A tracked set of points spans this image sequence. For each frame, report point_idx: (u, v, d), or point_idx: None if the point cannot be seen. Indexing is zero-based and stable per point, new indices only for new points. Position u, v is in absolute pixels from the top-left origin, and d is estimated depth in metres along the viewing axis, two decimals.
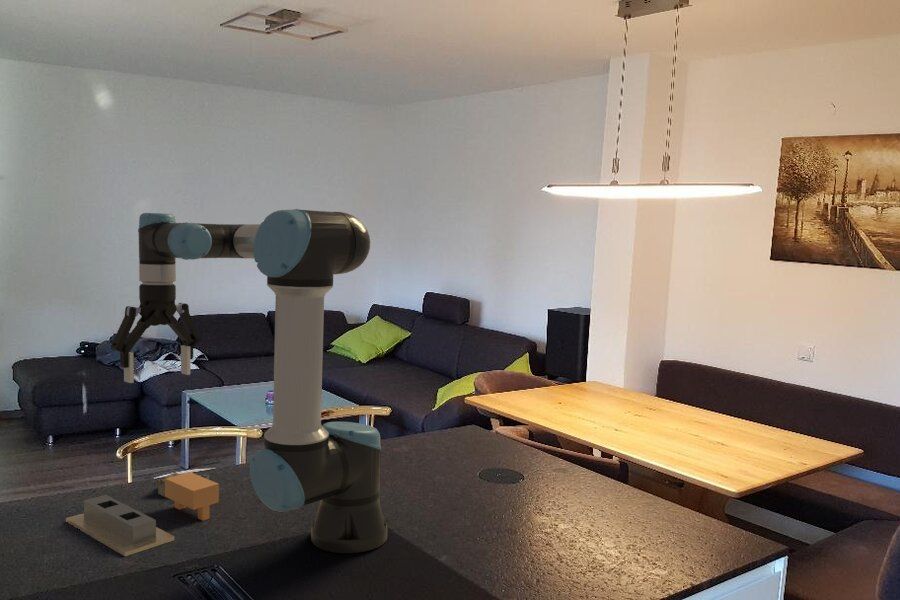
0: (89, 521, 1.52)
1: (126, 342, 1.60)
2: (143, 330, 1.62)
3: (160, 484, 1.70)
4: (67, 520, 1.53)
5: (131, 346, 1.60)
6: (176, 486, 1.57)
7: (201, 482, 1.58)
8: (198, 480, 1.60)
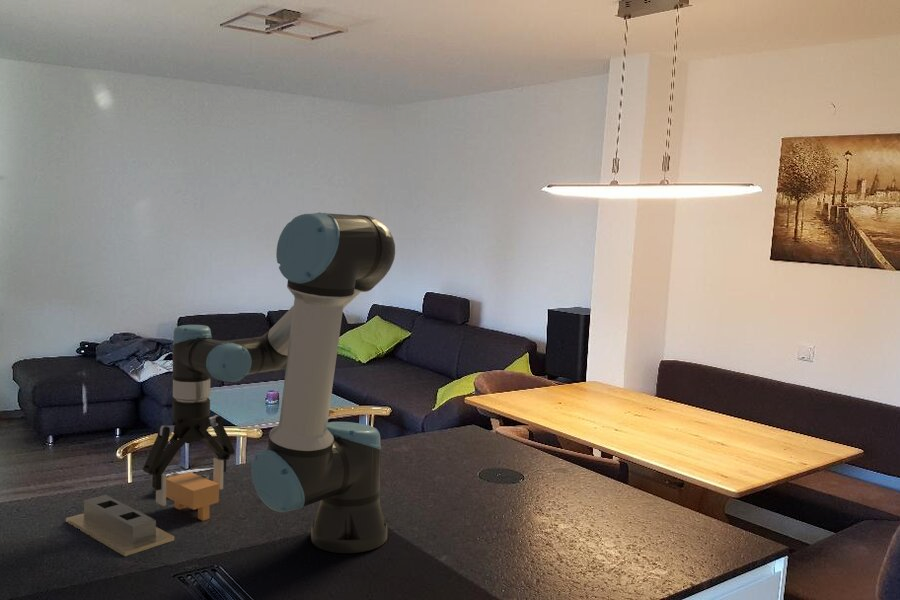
0: (89, 521, 1.52)
1: (159, 463, 1.53)
2: (176, 449, 1.55)
3: None
4: (67, 520, 1.53)
5: (164, 468, 1.53)
6: (176, 486, 1.57)
7: (201, 482, 1.58)
8: (198, 480, 1.60)
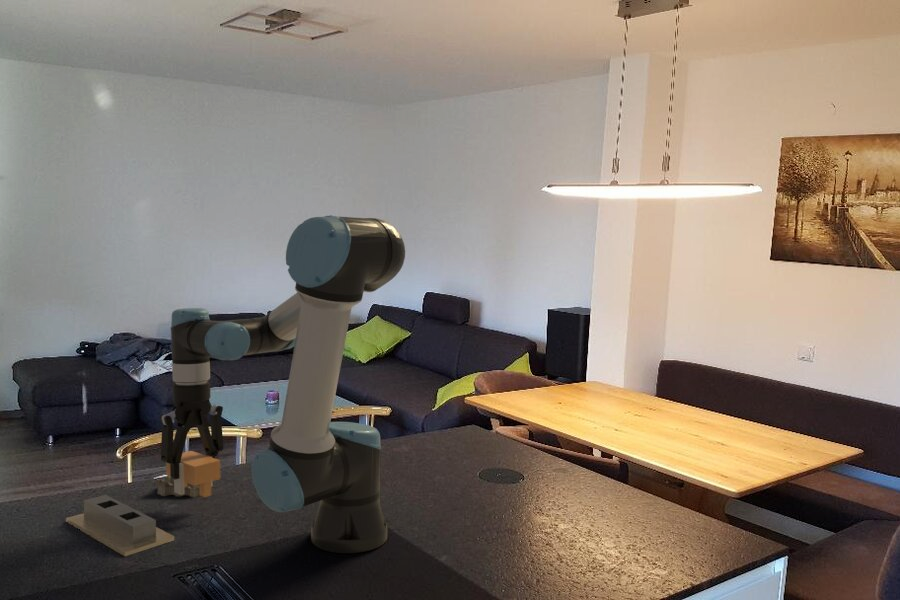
0: (89, 521, 1.52)
1: (173, 453, 1.55)
2: (185, 435, 1.55)
3: (159, 484, 1.70)
4: (67, 520, 1.53)
5: (180, 455, 1.55)
6: None
7: (202, 459, 1.57)
8: (199, 457, 1.59)
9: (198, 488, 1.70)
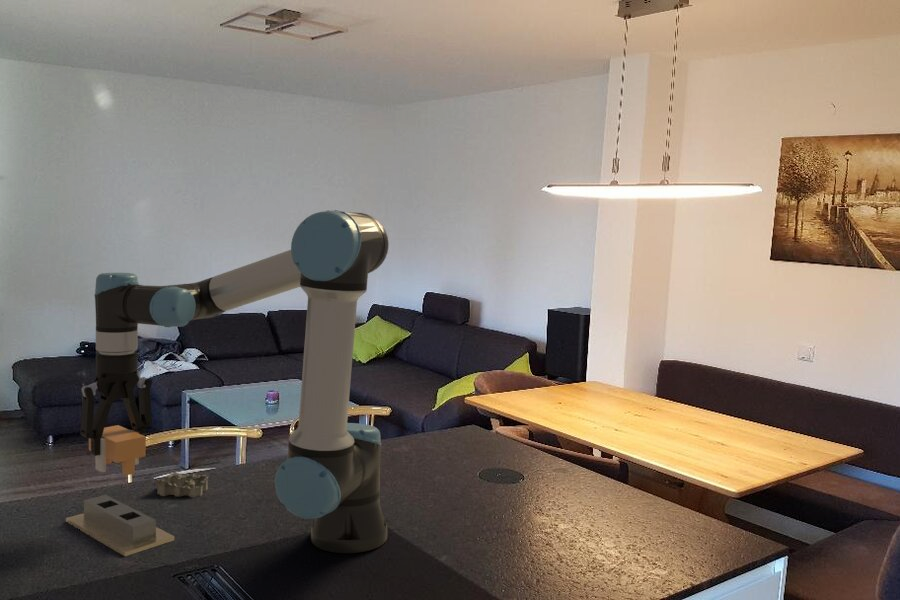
0: (89, 521, 1.52)
1: (94, 427, 1.44)
2: (108, 409, 1.44)
3: (159, 484, 1.70)
4: (67, 520, 1.53)
5: (102, 430, 1.44)
6: None
7: (127, 435, 1.47)
8: (124, 432, 1.48)
9: (197, 488, 1.70)
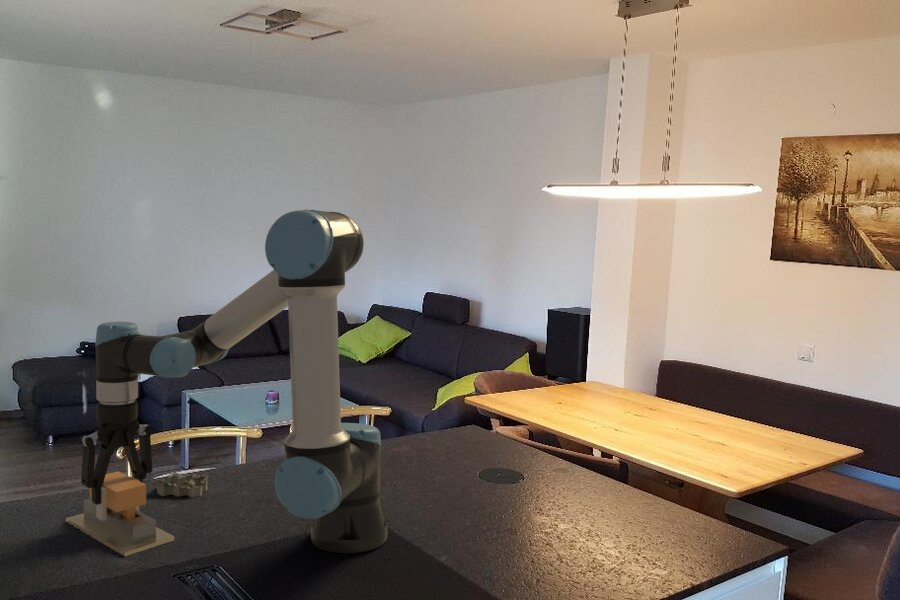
0: (89, 521, 1.52)
1: (95, 476, 1.45)
2: (108, 458, 1.45)
3: (159, 484, 1.70)
4: (67, 520, 1.53)
5: (103, 479, 1.45)
6: None
7: (127, 483, 1.48)
8: (124, 480, 1.49)
9: (197, 488, 1.70)
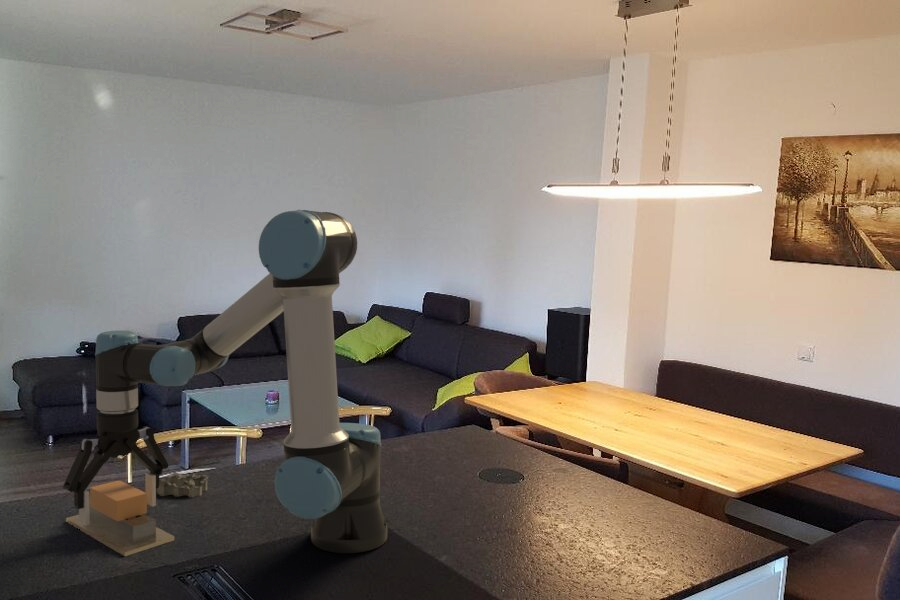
0: None
1: (81, 479, 1.43)
2: (100, 465, 1.44)
3: (159, 484, 1.70)
4: (67, 520, 1.53)
5: (87, 485, 1.42)
6: (101, 496, 1.47)
7: (128, 492, 1.48)
8: (125, 489, 1.49)
9: (197, 488, 1.70)
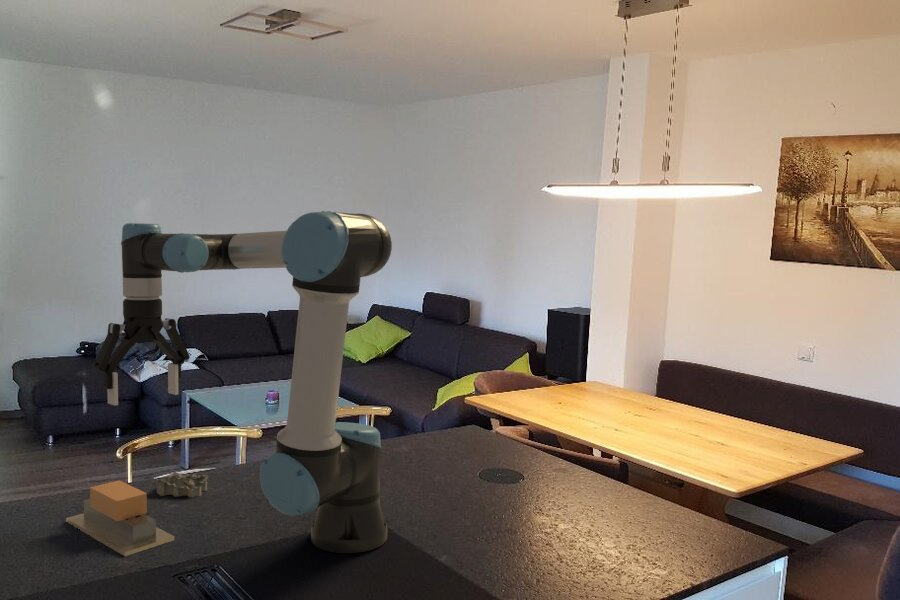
0: (89, 521, 1.52)
1: (110, 361, 1.50)
2: (128, 348, 1.52)
3: (158, 484, 1.70)
4: (67, 520, 1.53)
5: (115, 366, 1.50)
6: (101, 496, 1.47)
7: (128, 492, 1.48)
8: (125, 489, 1.49)
9: (196, 488, 1.70)
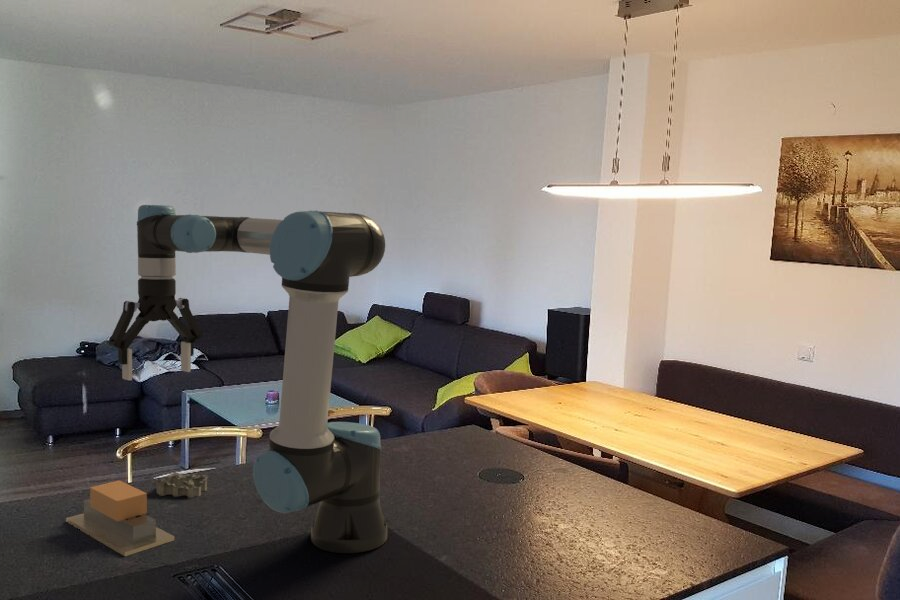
0: (89, 521, 1.52)
1: (124, 338, 1.55)
2: (142, 326, 1.57)
3: (158, 483, 1.70)
4: (67, 520, 1.53)
5: (130, 342, 1.55)
6: (101, 496, 1.47)
7: (128, 492, 1.48)
8: (125, 489, 1.49)
9: (196, 488, 1.70)
